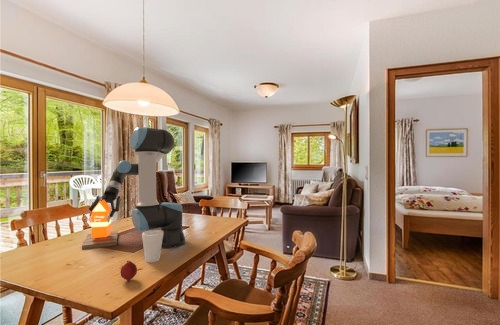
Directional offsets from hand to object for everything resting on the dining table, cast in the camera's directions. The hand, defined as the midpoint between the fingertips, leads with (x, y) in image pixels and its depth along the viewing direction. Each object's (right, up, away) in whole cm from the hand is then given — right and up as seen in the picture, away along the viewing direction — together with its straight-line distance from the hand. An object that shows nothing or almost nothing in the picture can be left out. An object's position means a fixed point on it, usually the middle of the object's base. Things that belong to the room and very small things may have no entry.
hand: (98, 221), depth 141 cm
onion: (+38, -13, -43) cm, 58 cm away
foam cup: (+39, -13, -22) cm, 47 cm away
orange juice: (0, -9, +3) cm, 10 cm away
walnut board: (0, -12, +3) cm, 13 cm away
